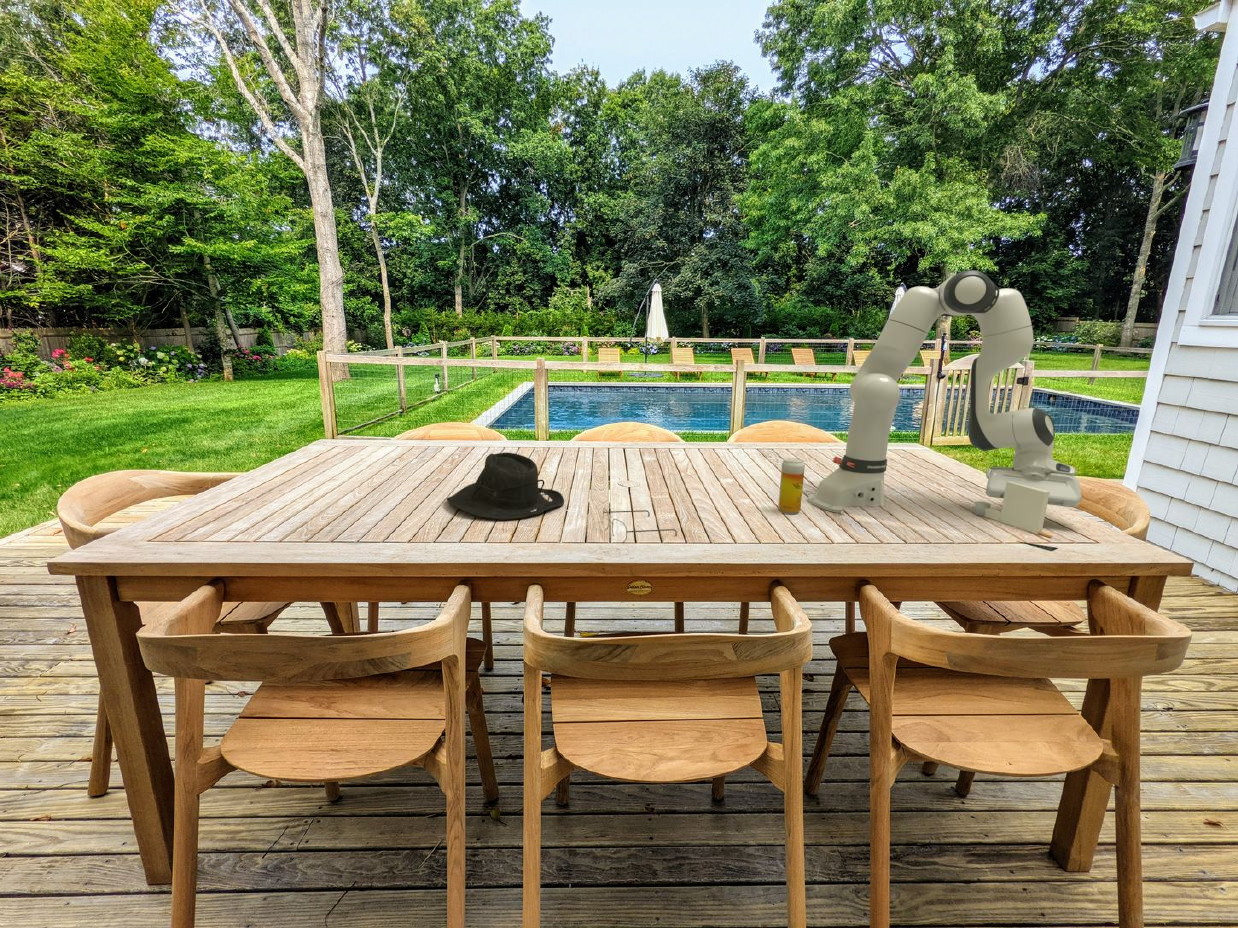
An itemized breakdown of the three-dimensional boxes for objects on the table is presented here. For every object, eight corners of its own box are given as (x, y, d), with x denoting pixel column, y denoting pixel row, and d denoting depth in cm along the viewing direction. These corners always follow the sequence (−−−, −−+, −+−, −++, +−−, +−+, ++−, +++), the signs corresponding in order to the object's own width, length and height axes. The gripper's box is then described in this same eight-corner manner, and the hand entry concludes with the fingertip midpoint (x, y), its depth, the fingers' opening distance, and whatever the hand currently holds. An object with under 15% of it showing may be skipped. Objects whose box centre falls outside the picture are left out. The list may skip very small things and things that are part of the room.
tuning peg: (970, 512, 156) (977, 474, 153) (980, 511, 157) (986, 474, 154) (1045, 538, 137) (1054, 495, 134) (1056, 537, 138) (1065, 494, 135)
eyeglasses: (598, 524, 146) (598, 506, 145) (649, 517, 152) (649, 500, 151) (621, 545, 132) (621, 525, 131) (677, 537, 138) (678, 518, 137)
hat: (532, 482, 185) (531, 440, 182) (581, 511, 156) (581, 462, 153) (434, 495, 169) (431, 449, 166) (469, 530, 140) (467, 475, 136)
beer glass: (801, 515, 155) (806, 463, 152) (778, 513, 156) (783, 461, 153) (798, 509, 161) (803, 458, 157) (777, 507, 162) (781, 457, 158)
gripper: (988, 459, 152) (985, 502, 147) (1083, 468, 143) (1083, 515, 137) (985, 471, 157) (981, 513, 151) (1076, 481, 148) (1076, 527, 142)
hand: (1030, 514), depth 144 cm, fingers closed
